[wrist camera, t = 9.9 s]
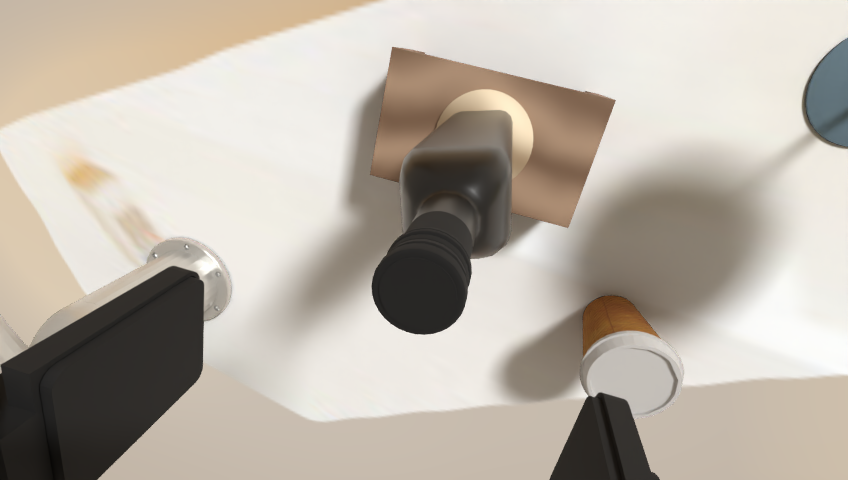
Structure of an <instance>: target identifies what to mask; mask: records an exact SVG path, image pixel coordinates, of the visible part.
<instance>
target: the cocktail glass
mask: <svg viewBox="0 0 848 480" xmlns="http://www.w3.org/2000/svg"><path fill="white" fill-rule="evenodd" d="M806 111H807V115H808V118H809V121H810V123H811V125H812V126H813V128H814V129H815V130H816V131H817V132H818V133H819V134H820V135H821V136H822V137H823V138H825V139H827V140H828V141H830V142H833V143H835V144H838V145H842V146H846V147H848V38H847V39H845V40H844V41H842V42H841V43H840V44H839V45H837V46H836V47H835V48H834V49H832V50H831V51H830V52H829V54H828V55H827V56H826V57H825V58H824V59H823V60H822V62H821V63H820V64H819V65H818V67H817V69H816V70H815V72H814V74H813V76H812V78H811V80H810V83H809V85H808V89H807V94H806Z"/></svg>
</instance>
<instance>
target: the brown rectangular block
mask: <svg viewBox="0 0 848 480" xmlns="http://www.w3.org/2000/svg"><path fill="white" fill-rule="evenodd" d="M615 101H616V100H613V99H611V98H608V97H605V96H602V95H599V94H595V93H591V92H587V91H585V92H581V91H576V90H572V89H568V88H564V87H560V86H555V85H551V84H547V83H543V82H539V81H535V80H530V79H526V78H522V77H518V76H514V75H509V74H505V73H501V72H497V71H493V70H489V69H484V68H480V67H476V66H472V65H468V64H464V63H459V62H455V61H451V60H447V59H443V58H438V57H434V56H430V55H426V54H425V53H424V52H419V51H415V50H411V49H404V48H397V47H392V51H391V57H390V63H389V69H388V74H387V80H386V86H385V92H384V97H383V103H382V109H381V115H380V120H379V126H378V132H377V138H376V143H375V149H374V155H373V161H372V166H371V172H370V175H373V176H377V177H381V178H384V179H388V180H392V181H396V182H399V179H400V172H401V168H402V164H403V160H404V158H405V156H406V155H407V154H408V153H409V152H410V151H411V150H412V149H413V148H414V147H415V146H416V145H418V144H419V143H420V142H421V141H422V140H424V139H425V138H426V137H427V136H428V135H430V134H431V133H432V132H433V131H434V130H436V129H437V128H438V127H439V126H440V125H441V124H443V123H444V122H445V121H446V120H447V119H449V118H450V117H451V116H452V115H453V114H455V113H458V112H461V111H486V110H502V111H506V112H507V113H508V114H509V115H510V116H511V118H512V122H513V136H512V213H515V214H518V215H522V216H526V217H530V218H533V219H537V220H541V221H544V222H548V223H552V224H556V225H559V226H563V227H567V228H568V227H569V225H570V222H571V219H572V217H573V214H574V211H575V209H576V206H577V203H578V200H579V198H580V195H581V192H582V190H583V187H584V184H585V182H586V179H587V176H588V174H589V171H590V168H591V165H592V163H593V160H594V157H595V155H596V152H597V149H598V147H599V144H600V141H601V139H602V136H603V133H604V130H605V128H606V125H607V122H608V120H609V117H610V114H611V112H612V109H613V106H614V104H615Z"/></svg>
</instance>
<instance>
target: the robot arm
mask: <svg viewBox="0 0 848 480" xmlns="http://www.w3.org/2000/svg"><path fill="white" fill-rule="evenodd" d="M230 297H231V281H230V278H229V275H228V272H227V270H226V268H225V266H224V264H223V263H222V262H221V260H220V259H219V258H218V257H217V256H216V255H215V254H214V253H213V252H212V251H211V250H210V249H209V248H207V247H206V246H205V245H203V244H201V243H199V242H197V241H194V240H191V239H187V238H171V239H168V240H165V241H163V242H161V243H159V244H158V245H157V246H155V247H154V248H153V249H152V251H151V252H150V254H149V256H148V258H147V264H145V265H143V266H141V267H139V268H137V269H135V270H134V271H132V272H130V273H128V274H126V275H124V276H122V277H121V278H119V279H117V280H115V281H113V282H111V283H109V284H108V285H106V286H104V287H102V288H100V289H98V290H96V291H94V292H93V293H91V294H89V295H87V296H85V297H83V298H81V299H80V300H78V301H76V302H74V303H72V304H70V305H69V306H67V307H65V308H63V309H61V310H59V311H58V312H56V313H55V314H54V315H52V316H51V317H50V318H49V319H48V320H47V321H46V322H45V323H44V324H43V325H42V326H41V328H40V329H39V331H38V332H37V334H36V335H35V337H34V339H33V341H32V343H31V345H30V347H28V346H27V345H25V344H24V342H23V341H22V340H21V339H20V338H19V336H18V335H17V334H16V333H15V332H14V330H13V329H12V328H11V327H10V326H9V324H8V323H7V322H6V321H5V320H4V318H3V317H2V316H1V315H0V480H97V479H98V478H99V477H100V476H101V475H102V474H103V473H104V472H105V471H106V470H107V469H108V468H109V467H110V466H111V465H112V464H113V463H114V462H115V461H116V460H117V459H118V458H119V457H121V456H122V455H123V454H124V452H126V451H127V450H128V449H129V448H130V446H132V444H134V443H135V442H136V441H137V440H138V439H139V438H140V437H141V436H142V435H143V434H144V433H145V432H146V431H147V430H148V429H149V428H150V427H151V426H152V425H153V424H154V423H155V422H156V421H157V420H158V419H159V418H160V417H161V416H162V415H163V414H164V413H165V412H166V411H167V410H168V409H169V408H170V407H171V406H172V405H173V404H174V403H175V402H176V401H177V400H178V399H179V398H180V397H181V396H182V395H183V394H184V393H185V392H186V391H187V390H188V389H189V388H190V387H191V386H192V385H193V384H194V383H195V382H196V381H197V380H198V378H199V377H200V375H201V372H202V368H203V328H204V321H205V320H210V319H212V318H214V317H216V316H217V315H219V314H220V313H221V312H222V311H223V310H224V309H225V308H226V307H227V305H228V303H229V301H230ZM550 480H660V479H659V477H658V476H657V475H656V474H655V473H653V472H651V471H650V468H649V465H648V461H647V458H646V455H645V452H644V449H643V446H642V443H641V440H640V437H639V434H638V431H637V428H636V425H635V422H634V418H633V415H632V412H631V409H630V406H629V404H628V402H627V400H625V399H622V398H619V397H616V396H612V395H609V394H605V393H602V392H599V393H598V394H597V395H596V396H595V397H592V396H588V397H587V399H586V400H585V402H584V405H583V407H582V409H581V411H580V413H579V416H578V418H577V420H576V422H575V424H574V427H573V429H572V431H571V433H570V436H569V438H568V440H567V442H566V444H565V446H564V449H563V451H562V453H561V455H560V457H559V460H558V462H557V464H556V466H555V468H554V470H553V473H552V475H551V477H550Z"/></svg>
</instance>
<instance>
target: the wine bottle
mask: <svg viewBox="0 0 848 480" xmlns="http://www.w3.org/2000/svg"><path fill="white" fill-rule="evenodd" d="M512 136H513V122H512V118H511V116H510V115H509V114H508V113H507V112H506V111H502V110H486V111H461V112H458V113H455V114H453V115H452V116H451V117H450V118H449V119H447V120H446V121H445V122H444V123H443V124H441V125H440V126H439V127H438V128H437V129H436V130H434V131H433V132H432V133H431V134H430V135H428V136H427V137H426V138H425V139H424V140H422V141H421V142H420V143H419V144H418V145H416V146H415V147H414V148H413V149H412V150H411V151H410V152H409V153H408V154H407V155H406V156H405V158H404V160H403V164H402V168H401V172H400V179H399V185H400V200H401V216H402V231H403V234H402V235H401V236H400V237H399V238H398V239H397V240H396V241H394V243H393V244H392V246H391V247H390V249H389V250H388V253H387V255H386V256H385V257H384V258H383V259H382V261H381V262H380V264H379V265H378V267H377V268H376V270H375V273H374V276H373V280H372V295H373V299H374V302H375V304H376V306H377V308H378V310H379V311H380V313H381V314H382V315H383V317H384V318H385V319H386V320H387V321H389V322H390V323H391V324H392V325H394V326H396V327H397V328H399V329H401V330H404V331H406V332H409V333H413V334H424V335H425V334H434V333H437V332H440V331H443V330H445V329H447V328H449V327H450V326H451V325H452V324H453V323H455V322H456V320H457V319H458V318H459V317H460V316H461V314H462V312H463V309H464V307H465V303H466V299H467V294H468V290H467V289H468V286H469V283H470V279H471V274H472V272H471V262H470V259H479V258H484V257H488V256H493V255H494V254H495V253H496V252H498V251H499V250H500V249H501V248H502V247H504V246H505V245H506V244H507V242H508V240H509V236H510V233H511V217H512Z"/></svg>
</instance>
